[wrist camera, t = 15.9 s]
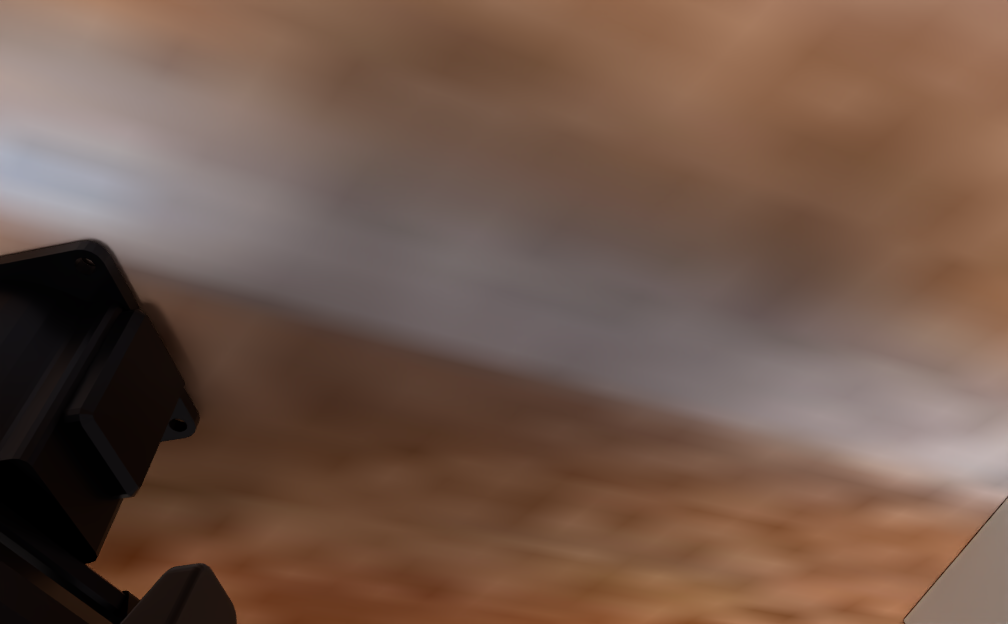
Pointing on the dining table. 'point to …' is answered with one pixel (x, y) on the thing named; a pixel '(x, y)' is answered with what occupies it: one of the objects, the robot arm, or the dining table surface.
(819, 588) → the dining table surface
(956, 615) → the socket block
